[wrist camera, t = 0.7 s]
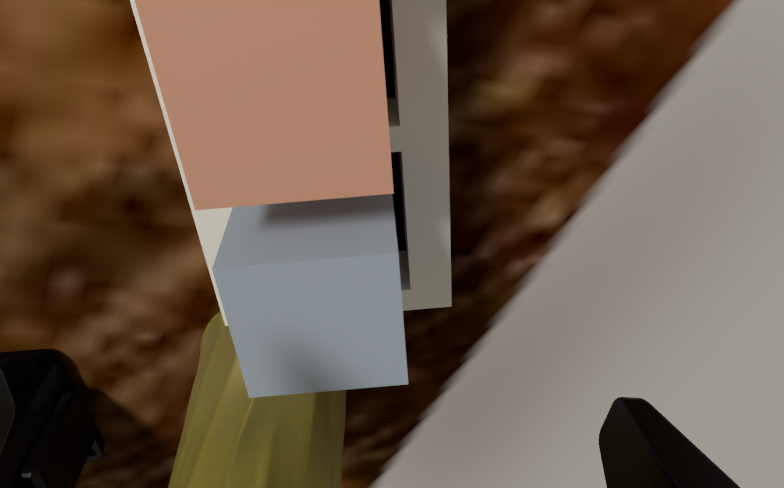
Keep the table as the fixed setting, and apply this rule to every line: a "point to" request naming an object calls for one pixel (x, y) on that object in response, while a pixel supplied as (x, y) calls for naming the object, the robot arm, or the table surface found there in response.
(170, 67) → the salmon block
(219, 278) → the pale blue block
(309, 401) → the vase
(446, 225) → the button board
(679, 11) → the table surface
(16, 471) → the robot arm
